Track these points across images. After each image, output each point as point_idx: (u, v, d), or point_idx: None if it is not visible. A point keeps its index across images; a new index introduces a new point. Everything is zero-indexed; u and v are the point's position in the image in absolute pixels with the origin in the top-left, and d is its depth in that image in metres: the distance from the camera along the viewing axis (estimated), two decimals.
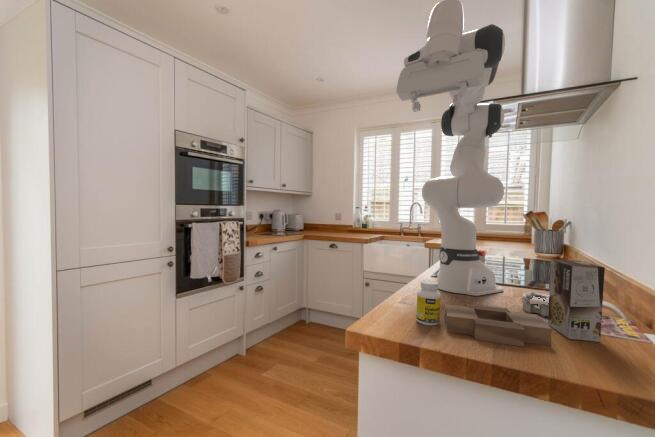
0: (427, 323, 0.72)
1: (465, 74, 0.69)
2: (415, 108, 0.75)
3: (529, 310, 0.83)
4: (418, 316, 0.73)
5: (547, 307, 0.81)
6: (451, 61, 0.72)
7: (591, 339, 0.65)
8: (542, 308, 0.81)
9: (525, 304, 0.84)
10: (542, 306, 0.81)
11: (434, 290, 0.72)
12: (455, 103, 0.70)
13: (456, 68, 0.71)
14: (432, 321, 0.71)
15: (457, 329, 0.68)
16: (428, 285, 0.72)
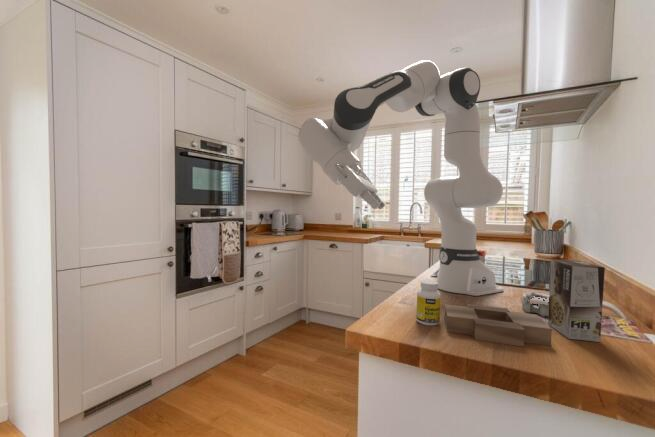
0: (427, 323, 0.72)
1: None
2: (381, 208, 0.81)
3: (528, 310, 0.83)
4: (418, 316, 0.73)
5: (546, 307, 0.81)
6: None
7: (591, 339, 0.65)
8: (541, 308, 0.81)
9: (524, 304, 0.85)
10: (541, 306, 0.81)
11: (434, 290, 0.72)
12: (377, 207, 0.73)
13: None
14: (432, 321, 0.71)
15: (457, 329, 0.68)
16: (428, 285, 0.72)
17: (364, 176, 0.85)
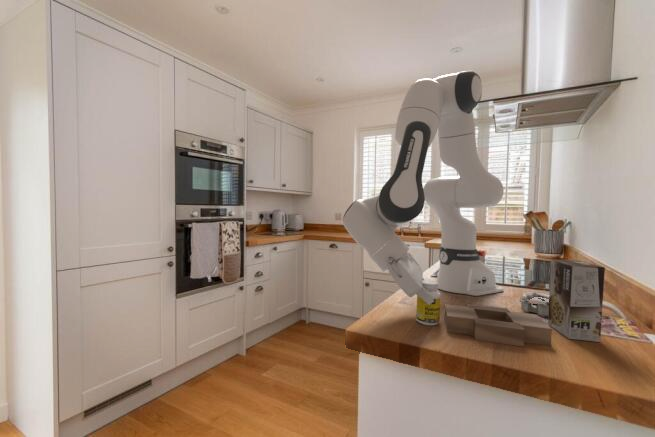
0: (427, 323, 0.72)
1: None
2: None
3: (526, 309, 0.83)
4: (418, 316, 0.73)
5: (544, 307, 0.81)
6: None
7: (591, 339, 0.65)
8: (539, 308, 0.81)
9: (523, 303, 0.85)
10: (539, 306, 0.81)
11: (434, 290, 0.72)
12: None
13: None
14: (432, 321, 0.71)
15: (457, 329, 0.68)
16: (428, 285, 0.72)
17: None
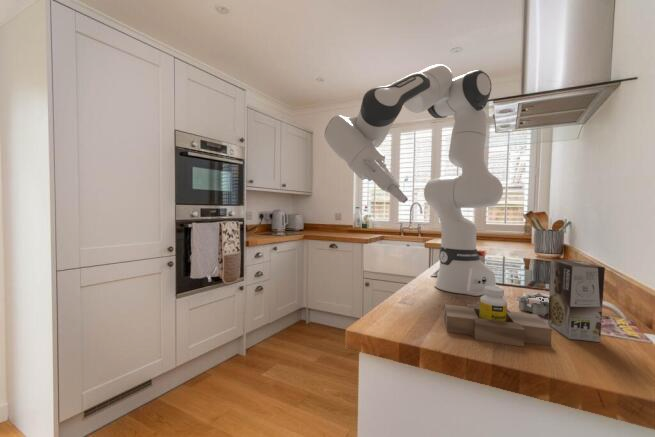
0: None
1: None
2: (404, 202, 0.85)
3: (522, 308, 0.84)
4: None
5: (539, 306, 0.81)
6: None
7: (591, 339, 0.65)
8: (533, 307, 0.82)
9: (520, 302, 0.86)
10: (533, 305, 0.82)
11: (500, 297, 0.68)
12: (403, 200, 0.76)
13: None
14: None
15: (457, 329, 0.68)
16: (494, 291, 0.68)
17: (387, 171, 0.88)
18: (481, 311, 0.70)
